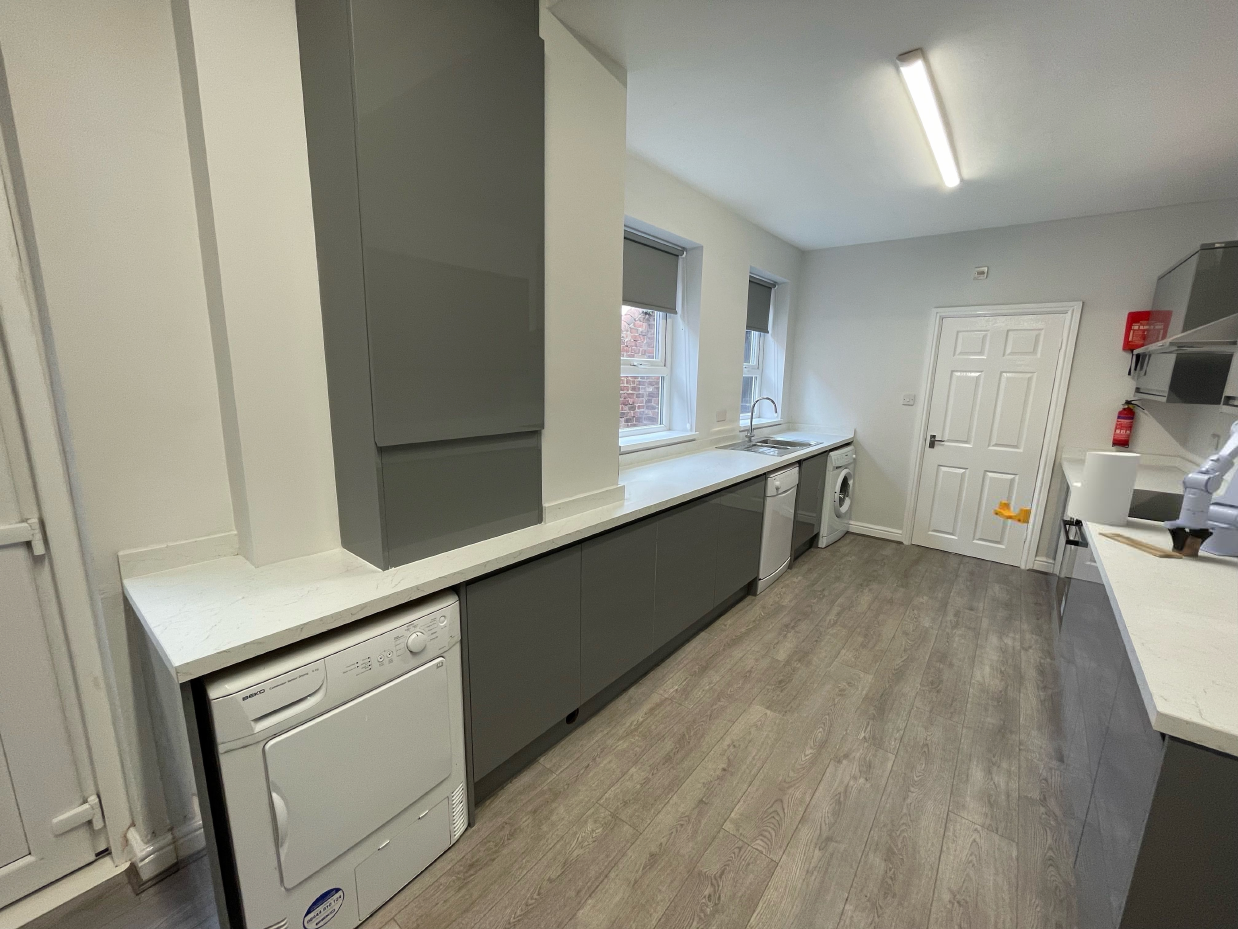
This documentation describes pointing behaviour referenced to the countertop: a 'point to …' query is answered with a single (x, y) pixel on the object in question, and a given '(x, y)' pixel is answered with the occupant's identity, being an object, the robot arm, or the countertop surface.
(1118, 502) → the cylinder
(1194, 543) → the block
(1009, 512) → the mounting bracket
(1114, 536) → the oak board
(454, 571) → the countertop surface
